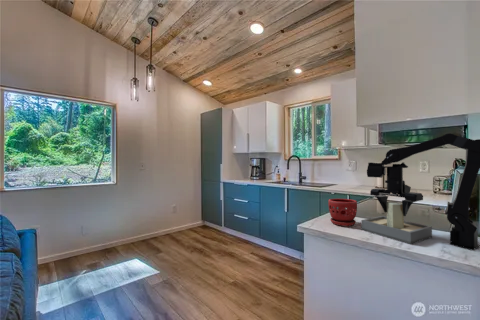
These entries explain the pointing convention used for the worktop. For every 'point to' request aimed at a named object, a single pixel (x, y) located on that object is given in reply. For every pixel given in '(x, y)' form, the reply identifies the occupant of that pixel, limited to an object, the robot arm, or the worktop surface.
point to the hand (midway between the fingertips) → (394, 214)
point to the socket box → (397, 230)
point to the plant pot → (342, 211)
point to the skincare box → (395, 215)
